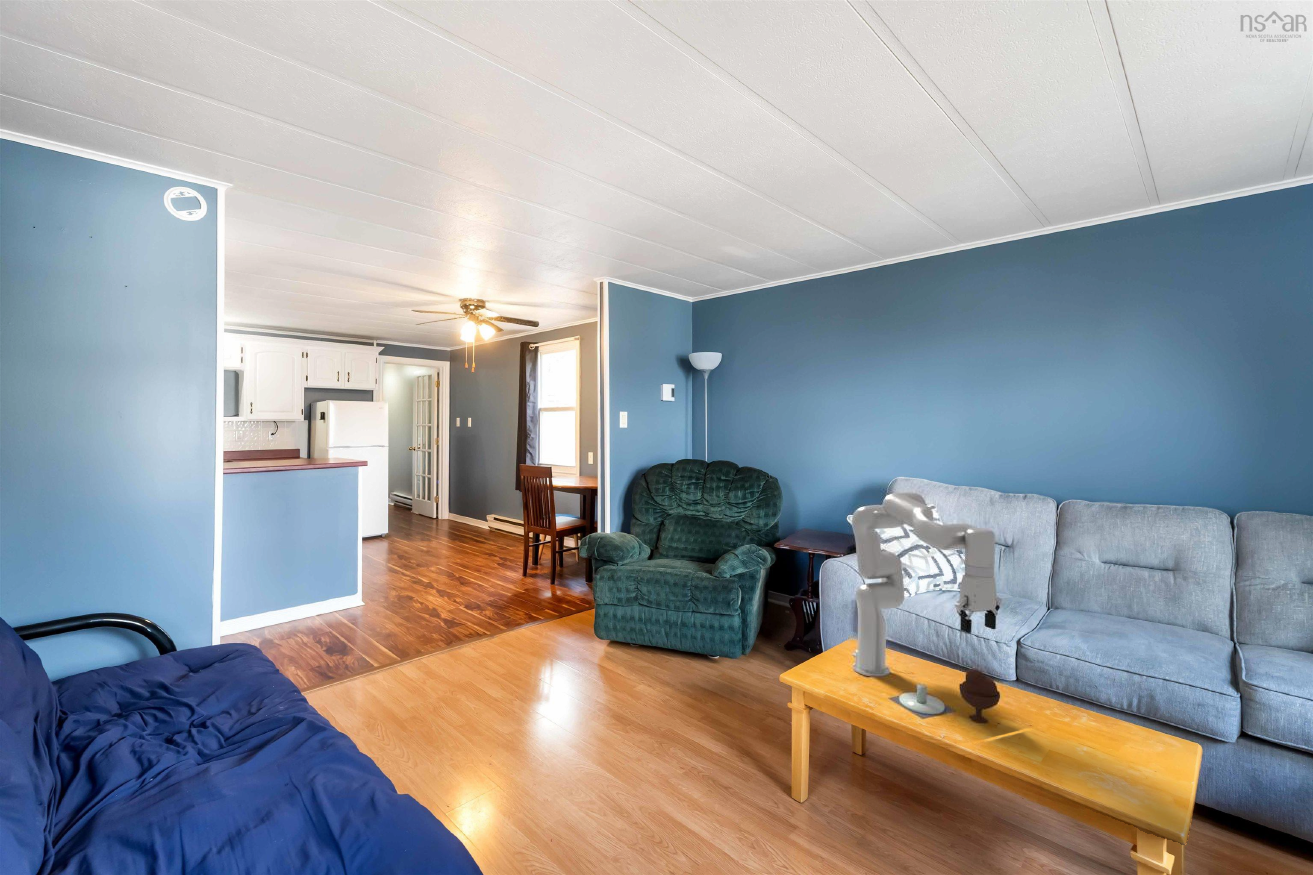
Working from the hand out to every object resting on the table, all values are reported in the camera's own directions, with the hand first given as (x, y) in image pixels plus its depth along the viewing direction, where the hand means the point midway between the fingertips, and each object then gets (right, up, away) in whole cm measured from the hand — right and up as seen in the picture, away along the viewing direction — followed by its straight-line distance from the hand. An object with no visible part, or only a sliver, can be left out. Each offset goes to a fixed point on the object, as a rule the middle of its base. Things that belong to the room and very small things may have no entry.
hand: (978, 629), depth 168 cm
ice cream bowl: (+3, -30, +6) cm, 30 cm away
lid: (-10, -29, +15) cm, 33 cm away
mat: (-10, -29, +15) cm, 34 cm away
